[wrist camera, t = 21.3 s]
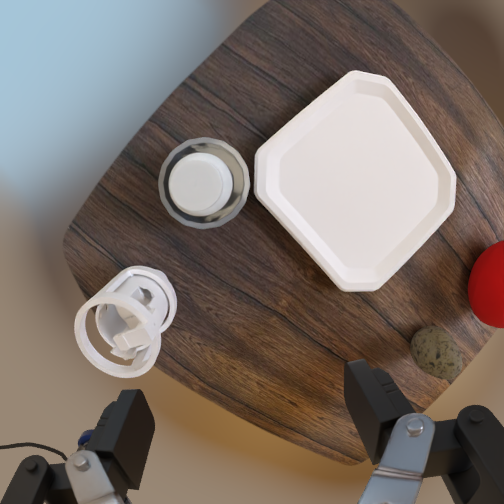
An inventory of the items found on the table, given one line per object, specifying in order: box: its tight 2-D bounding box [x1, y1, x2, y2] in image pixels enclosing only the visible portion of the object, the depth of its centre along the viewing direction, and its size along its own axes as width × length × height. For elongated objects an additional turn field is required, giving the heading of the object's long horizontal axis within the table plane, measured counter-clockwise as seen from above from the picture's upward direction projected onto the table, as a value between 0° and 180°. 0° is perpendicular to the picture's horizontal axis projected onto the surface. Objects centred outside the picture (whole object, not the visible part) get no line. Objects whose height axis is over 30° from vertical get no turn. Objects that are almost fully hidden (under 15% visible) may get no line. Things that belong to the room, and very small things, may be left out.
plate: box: [254, 70, 456, 292], centre depth 32 cm, size 21×21×2 cm
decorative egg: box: [410, 326, 462, 379], centre depth 34 cm, size 6×6×10 cm
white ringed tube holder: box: [74, 266, 177, 378], centre depth 28 cm, size 7×7×15 cm
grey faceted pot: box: [158, 137, 250, 229], centre depth 30 cm, size 8×8×6 cm
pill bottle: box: [169, 153, 233, 216], centre depth 27 cm, size 5×5×10 cm
